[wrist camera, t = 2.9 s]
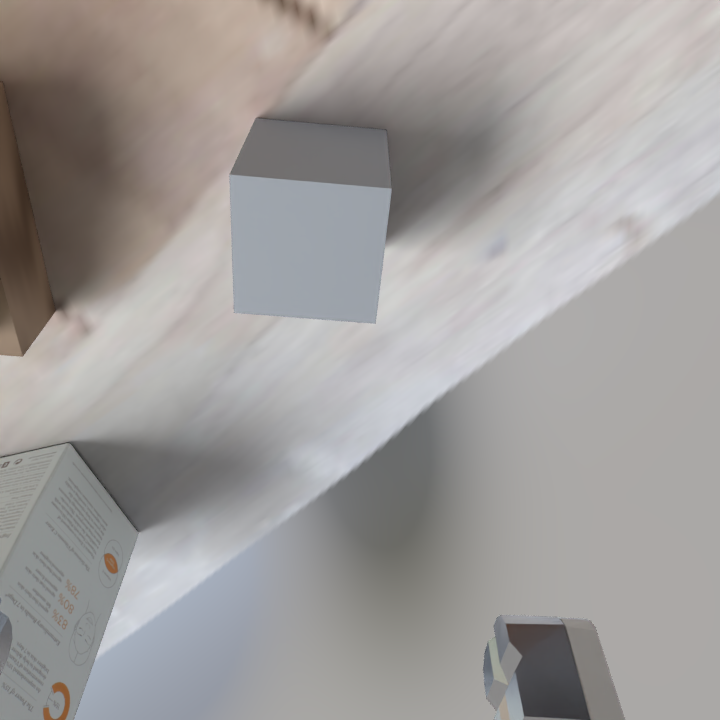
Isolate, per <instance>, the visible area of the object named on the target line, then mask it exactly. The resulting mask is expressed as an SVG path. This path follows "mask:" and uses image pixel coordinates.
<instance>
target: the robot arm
mask: <svg viewBox="0 0 720 720" xmlns="http://www.w3.org/2000/svg"><path fill="white" fill-rule="evenodd" d="M1 601H2V600H1V598H0V603H1ZM494 632H495V637H494V638H492V639H491V640H489V641H488V643H487V646H486V649H485V653H484V665H483V673H484V685H485V692H486V699H487V700H488V701H489V702H490V704H491V705H492V706H493V707H494V709H495V710H496V711H497V713H496V715H495V717H494V720H625V717H624V714H623V711H622V708H621V705H620V702H619V699H618V696H617V693H616V690H615V686H614V683H613V681H612V677H611V674H610V671H609V668H608V664H607V661H606V658H605V655H604V652H603V649H602V646H601V643H600V640H599V636H598V633H597V630H596V627H595V626H594V624H593V623H592V622H591V621H590V620H588V619H581V618H560V617H547V616H516V615H500V616H498V617H497V619H496V621H495V624H494ZM12 639H13V637H12V625H11V622H10V619H9V617H8V616H7V615H5V614H4V613H2V612H1V611H0V675H1V673H2V671H3V669H4V666H5V664H6V662H7V659H8V657H9V652H10V648H11V643H12Z"/></svg>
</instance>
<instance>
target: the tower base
mask: <svg viewBox="0 0 720 720" xmlns="http://www.w3.org/2000/svg"><path fill="white" fill-rule="evenodd" d="M54 313H55V307H54V303H53V298H52V294H51V290H50V285H49V281H48V277H47V272H46V268H45V264H44V259H43V255H42V251H41V246H40V242H39V238H38V233H37V229H36V224H35V220H34V216H33V211H32V207H31V203H30V198H29V194H28V190H27V185H26V181H25V177H24V172H23V168H22V164H21V159H20V155H19V151H18V146H17V142H16V138H15V133H14V129H13V125H12V120H11V116H10V112H9V107H8V103H7V99H6V94H5V90H4V86H3V81H0V355H8V356H22V357H23V356H24V354H25V353H26V351H27V350H28V349H29V347H30V346H31V344H32V343H33V342H34V340H35V339H36V338H37V336H38V335H39V333H40V332H41V331H42V329H43V328H44V326H45V325H46V324H47V322H48V321H49V320H50V318H51V317H52V315H53V314H54Z"/></svg>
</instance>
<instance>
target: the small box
mask: <svg viewBox="0 0 720 720" xmlns="http://www.w3.org/2000/svg"><path fill="white" fill-rule="evenodd" d="M137 537H138V531H137V530H136V529H135V528H134V527H133V525H132V524H131V523H130V521H129V520H128V519H127V517H126V516H125V515H124V514H123V512H122V511H121V510H120V508H119V507H118V506H117V504H116V503H115V502H114V500H113V499H112V498H111V496H110V495H109V494H108V492H107V491H106V490H105V488H104V487H103V486H102V485H101V483H100V482H99V481H98V479H97V478H96V477H95V475H94V474H93V473H92V471H91V470H90V469H89V468H88V466H87V465H86V464H85V462H84V461H83V460H82V458H81V457H80V456H79V454H78V453H77V452H76V451H75V449H74V448H73V446H72V445H71V444H70V443H66V444H61V445H56V446H52V447H47V448H43V449H38V450H34V451H29V452H25V453H21V454H16V455H12V456H7V457H3V458H0V598H1V600H2V601H1V603H0V611H1V612H2V613H4V614H5V615H7V616H8V617H9V619H10V622H11V625H12V637H13V639H12V643H11V648H10V652H9V657H8V659H7V662H6V664H5V666H4V669H3V671H2V673H1V675H0V720H74V718H75V715H76V712H77V709H78V706H79V704H80V700H81V698H82V695H83V692H84V689H85V686H86V683H87V681H88V678H89V675H90V672H91V669H92V666H93V664H94V661H95V658H96V655H97V652H98V649H99V646H100V643H101V641H102V638H103V635H104V632H105V629H106V626H107V623H108V620H109V618H110V615H111V612H112V609H113V606H114V603H115V600H116V597H117V595H118V592H119V589H120V586H121V583H122V580H123V577H124V575H125V572H126V569H127V566H128V563H129V560H130V557H131V554H132V551H133V549H134V546H135V543H136V540H137Z"/></svg>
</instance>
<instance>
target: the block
mask: <svg viewBox="0 0 720 720" xmlns="http://www.w3.org/2000/svg"><path fill="white" fill-rule="evenodd" d="M391 192H392V184H391V173H390V162H389V151H388V139H387V130H383V129H372V128H361V127H350V126H339V125H328V124H316V123H305V122H294V121H283V120H272V119H261V118H256V119H255V121H254V123H253V125H252V127H251V130H250V132H249V134H248V136H247V138H246V140H245V142H244V145H243V147H242V149H241V151H240V153H239V155H238V157H237V160H236V162H235V164H234V166H233V168H232V170H231V173H230V205H231V235H232V265H233V294H234V313H243V314H256V315H269V316H283V317H296V318H309V319H322V320H335V321H348V322H361V323H374V324H376V316H377V308H378V300H379V291H380V283H381V275H382V266H383V258H384V250H385V242H386V233H387V225H388V217H389V208H390V200H391Z"/></svg>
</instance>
